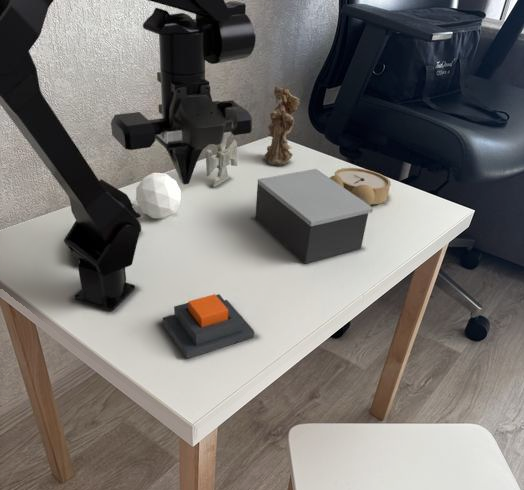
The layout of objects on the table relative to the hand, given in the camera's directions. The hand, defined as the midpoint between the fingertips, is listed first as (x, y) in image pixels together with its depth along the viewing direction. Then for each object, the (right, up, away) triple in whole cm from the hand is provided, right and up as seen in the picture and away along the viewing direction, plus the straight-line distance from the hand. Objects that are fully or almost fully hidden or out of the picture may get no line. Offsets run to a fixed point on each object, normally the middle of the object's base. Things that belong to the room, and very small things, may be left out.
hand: (184, 183), depth 84 cm
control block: (+4, -22, -5) cm, 23 cm away
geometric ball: (-7, 0, +19) cm, 20 cm away
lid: (+20, +2, +13) cm, 24 cm away
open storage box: (+19, -4, +18) cm, 26 cm away
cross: (+3, +9, +31) cm, 33 cm away
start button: (+4, -20, -7) cm, 21 cm away
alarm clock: (+30, +6, +30) cm, 43 cm away
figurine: (+15, +17, +41) cm, 47 cm away
